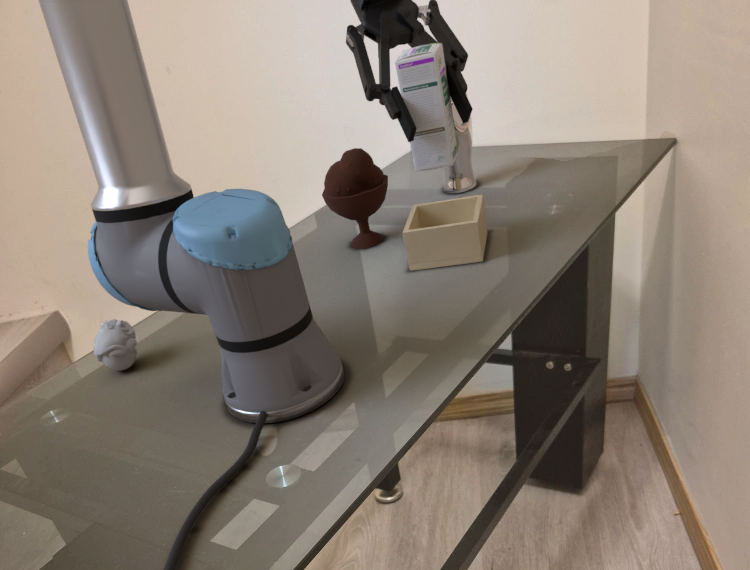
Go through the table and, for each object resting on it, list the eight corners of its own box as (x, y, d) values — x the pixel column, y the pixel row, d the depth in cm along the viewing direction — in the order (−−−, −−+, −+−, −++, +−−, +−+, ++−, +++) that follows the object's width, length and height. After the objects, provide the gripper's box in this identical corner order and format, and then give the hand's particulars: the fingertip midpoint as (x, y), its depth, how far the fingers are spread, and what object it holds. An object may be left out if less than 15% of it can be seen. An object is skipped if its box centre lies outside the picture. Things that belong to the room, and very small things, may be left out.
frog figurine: (155, 354, 109) (136, 311, 104) (129, 380, 104) (107, 336, 100) (123, 354, 111) (102, 312, 107) (96, 380, 106) (73, 337, 102)
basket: (482, 261, 109) (477, 221, 105) (409, 271, 112) (402, 232, 108) (487, 232, 117) (483, 193, 113) (419, 241, 120) (412, 204, 116)
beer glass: (434, 190, 138) (421, 102, 128) (466, 177, 139) (455, 90, 130) (453, 197, 132) (440, 107, 123) (486, 184, 134) (476, 94, 124)
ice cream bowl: (400, 224, 128) (382, 132, 119) (395, 249, 120) (376, 153, 110) (341, 234, 130) (319, 145, 121) (332, 260, 122) (308, 166, 112)
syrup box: (454, 166, 103) (438, 49, 94) (413, 172, 105) (393, 58, 96) (458, 153, 108) (443, 39, 98) (419, 159, 109) (401, 48, 100)
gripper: (434, -15, 108) (499, 120, 106) (304, 26, 104) (368, 165, 102) (444, -61, 100) (514, 83, 98) (304, -19, 97) (374, 131, 95)
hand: (440, 125), depth 100 cm, fingers closed on syrup box, 8 cm apart
